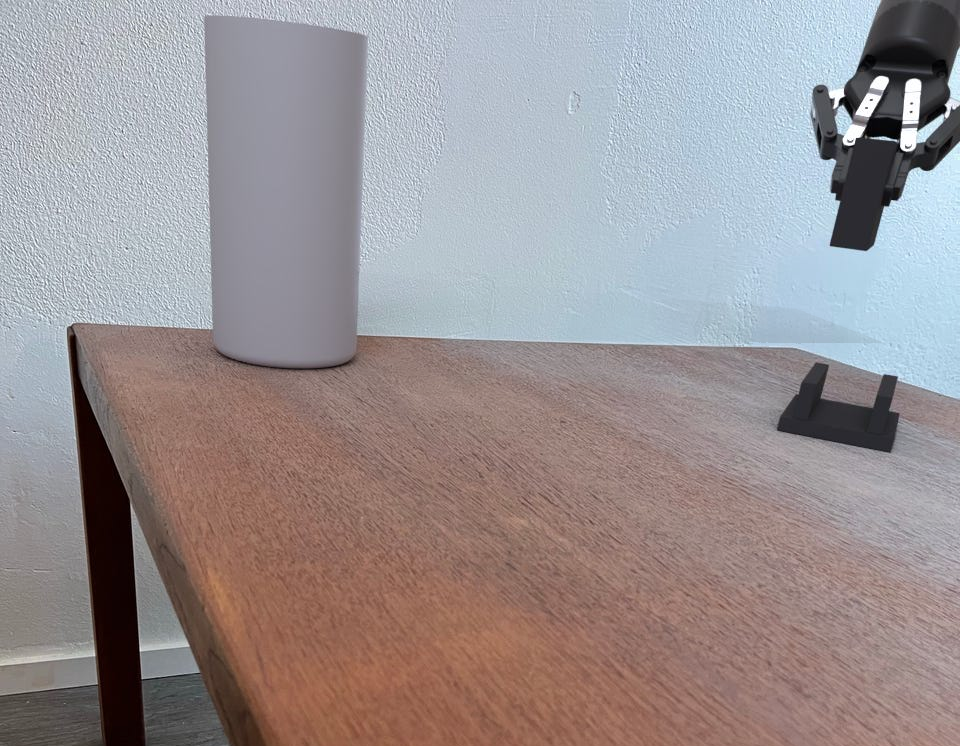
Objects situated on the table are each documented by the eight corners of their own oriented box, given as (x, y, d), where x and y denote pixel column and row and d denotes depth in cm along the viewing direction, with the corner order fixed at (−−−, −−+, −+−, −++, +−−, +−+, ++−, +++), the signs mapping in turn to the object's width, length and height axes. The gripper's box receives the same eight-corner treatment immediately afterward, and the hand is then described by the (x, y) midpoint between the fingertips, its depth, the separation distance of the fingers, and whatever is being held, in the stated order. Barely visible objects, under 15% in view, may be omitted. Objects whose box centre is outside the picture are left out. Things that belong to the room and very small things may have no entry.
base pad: (792, 406, 89) (804, 360, 87) (896, 426, 87) (910, 378, 85) (776, 430, 81) (789, 379, 79) (890, 452, 78) (906, 400, 76)
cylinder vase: (325, 378, 82) (334, 25, 70) (187, 356, 84) (173, 10, 72) (374, 351, 93) (389, 43, 81) (250, 333, 95) (247, 29, 83)
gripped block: (838, 241, 87) (863, 140, 84) (873, 245, 86) (900, 144, 83) (829, 246, 81) (855, 137, 77) (867, 251, 80) (895, 141, 76)
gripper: (834, -8, 83) (778, 150, 79) (1014, 2, 79) (966, 169, 74) (825, 70, 90) (773, 219, 86) (990, 83, 86) (945, 241, 81)
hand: (863, 195), depth 80 cm, fingers closed on gripped block, 3 cm apart
